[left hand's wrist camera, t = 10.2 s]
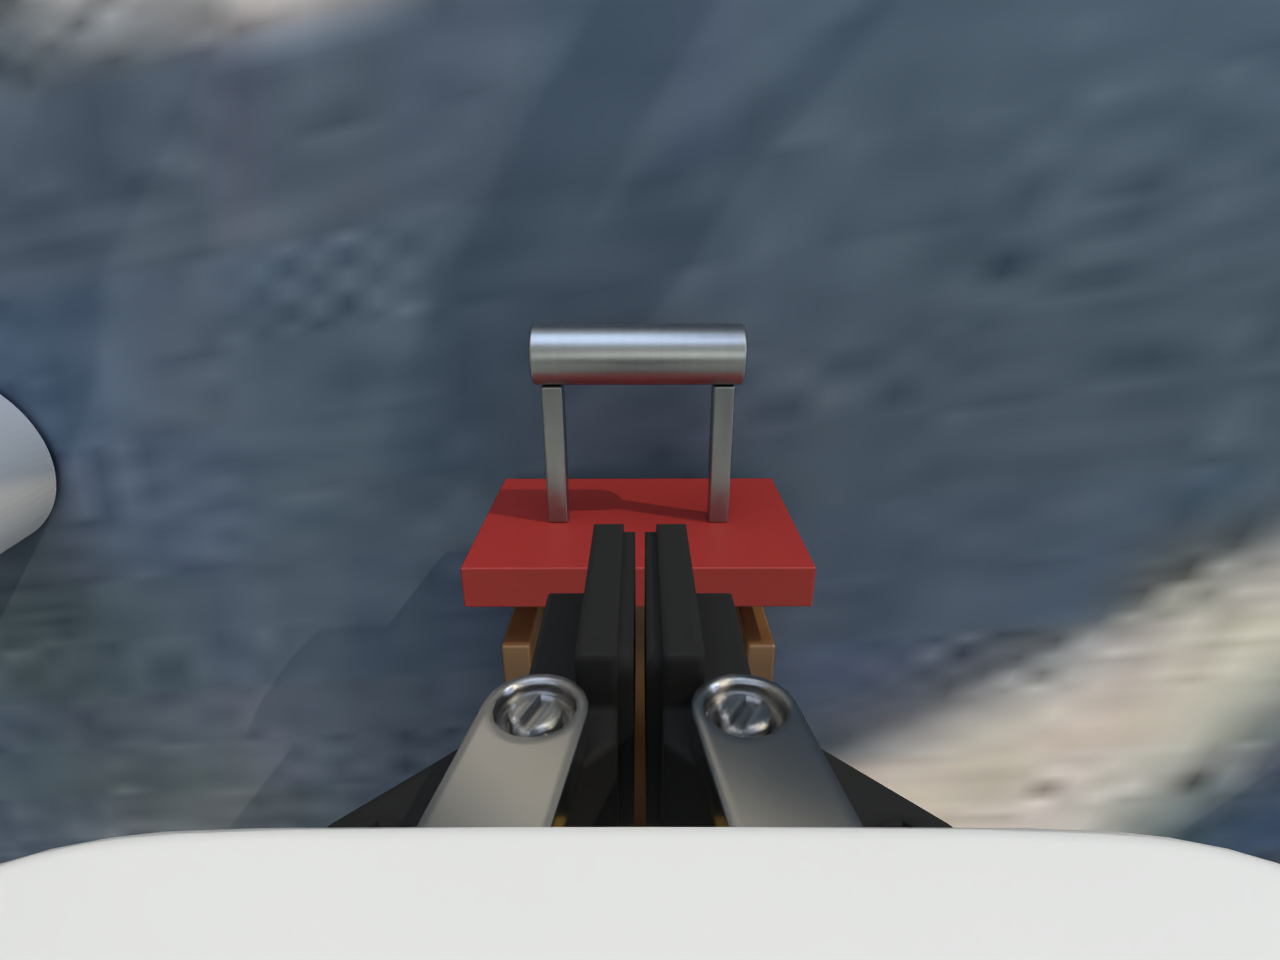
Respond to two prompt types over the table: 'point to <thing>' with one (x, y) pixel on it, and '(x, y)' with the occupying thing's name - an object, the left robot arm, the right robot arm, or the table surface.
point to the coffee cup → (22, 477)
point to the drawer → (637, 502)
